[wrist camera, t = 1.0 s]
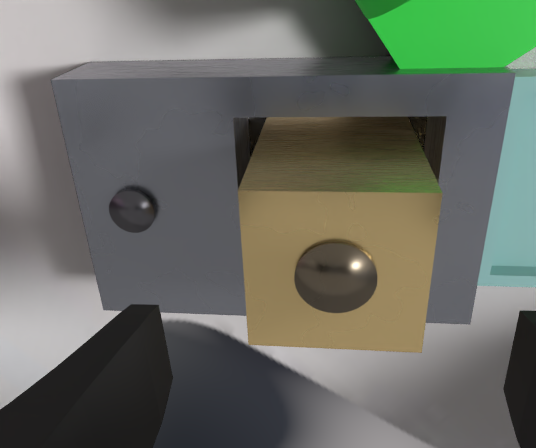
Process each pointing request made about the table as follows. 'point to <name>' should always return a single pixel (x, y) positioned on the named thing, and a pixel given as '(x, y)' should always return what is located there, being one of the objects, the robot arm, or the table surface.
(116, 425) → the robot arm
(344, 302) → the block
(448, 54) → the mechanical part
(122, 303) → the grey slotted block
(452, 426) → the table surface
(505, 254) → the tray
